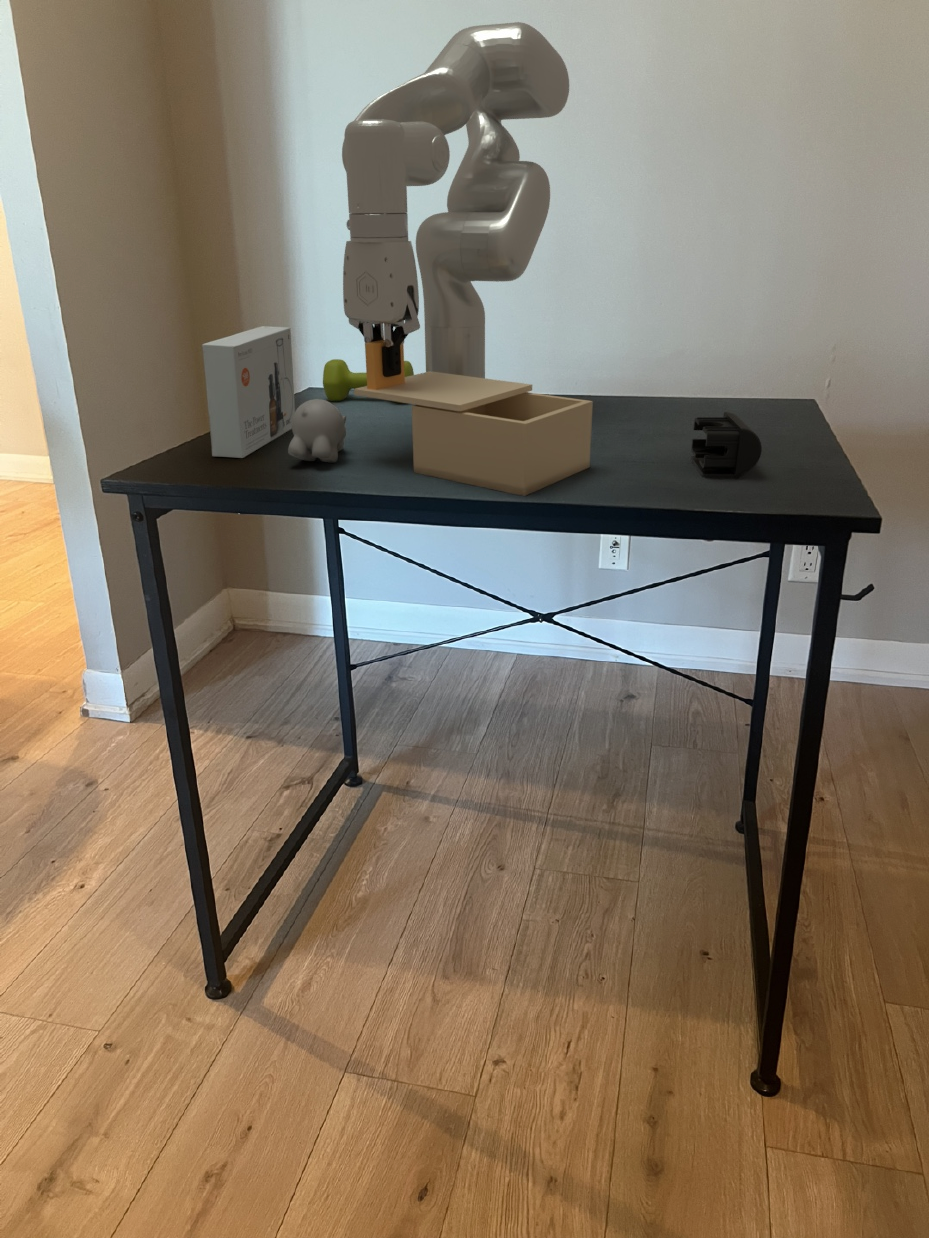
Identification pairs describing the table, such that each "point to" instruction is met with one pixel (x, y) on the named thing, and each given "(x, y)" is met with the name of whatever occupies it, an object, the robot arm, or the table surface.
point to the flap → (432, 385)
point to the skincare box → (249, 389)
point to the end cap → (725, 447)
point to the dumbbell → (347, 379)
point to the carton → (504, 442)
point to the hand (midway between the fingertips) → (385, 373)
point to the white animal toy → (317, 431)
